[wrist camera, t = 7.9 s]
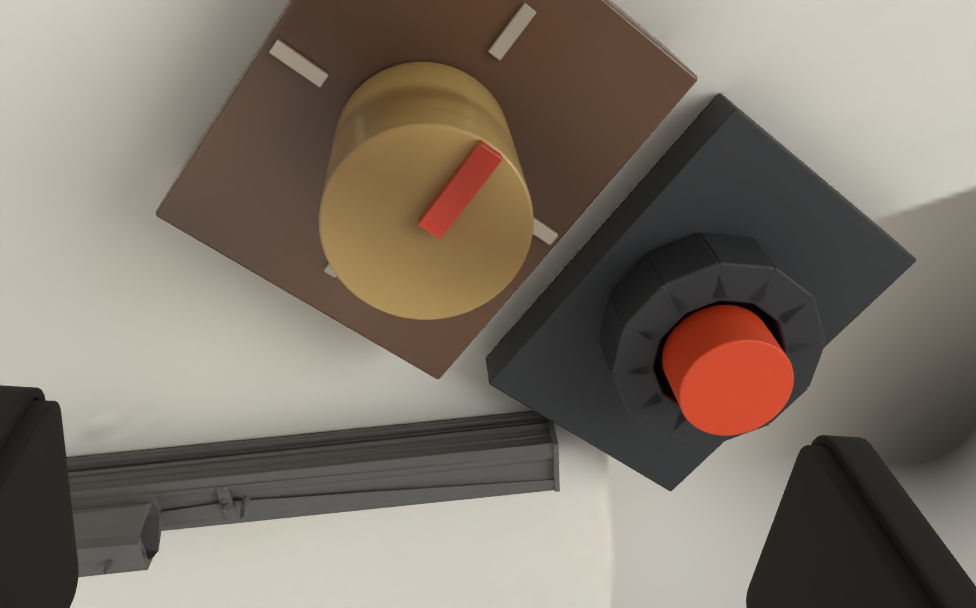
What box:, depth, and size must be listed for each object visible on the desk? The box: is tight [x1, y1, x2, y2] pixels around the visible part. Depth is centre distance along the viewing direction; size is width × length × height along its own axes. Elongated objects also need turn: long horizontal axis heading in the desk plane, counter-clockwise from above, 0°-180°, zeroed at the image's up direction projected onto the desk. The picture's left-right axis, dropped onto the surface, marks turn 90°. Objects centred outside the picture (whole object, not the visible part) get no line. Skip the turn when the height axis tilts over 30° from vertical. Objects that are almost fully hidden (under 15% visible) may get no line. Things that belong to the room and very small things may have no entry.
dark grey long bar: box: [66, 412, 560, 577], centre depth 29 cm, size 19×3×4 cm, turn 94°
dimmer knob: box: [319, 62, 534, 320], centre depth 20 cm, size 4×4×5 cm
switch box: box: [486, 93, 916, 491], centre depth 27 cm, size 11×8×4 cm
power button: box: [662, 305, 794, 436], centre depth 25 cm, size 3×3×2 cm
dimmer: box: [156, 0, 698, 379], centre depth 24 cm, size 11×9×3 cm
